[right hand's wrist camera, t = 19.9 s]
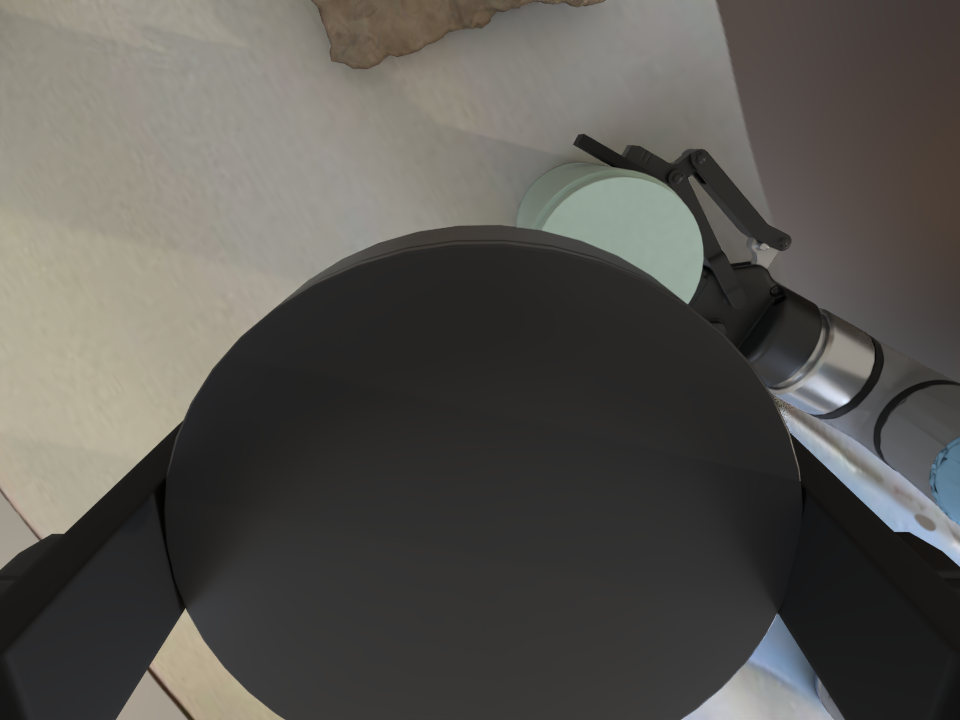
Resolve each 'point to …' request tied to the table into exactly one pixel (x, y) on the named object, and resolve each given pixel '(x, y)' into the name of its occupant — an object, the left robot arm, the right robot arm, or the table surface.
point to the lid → (483, 491)
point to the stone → (404, 24)
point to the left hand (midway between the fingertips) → (539, 210)
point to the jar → (620, 220)
